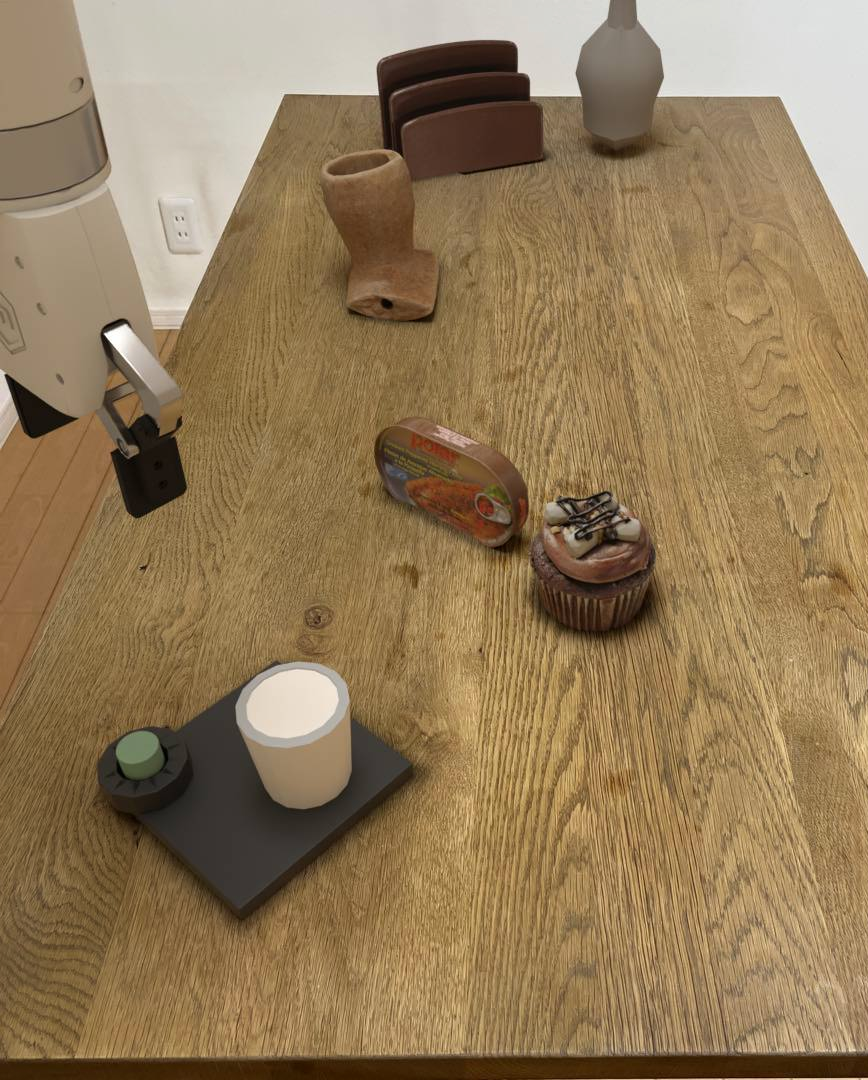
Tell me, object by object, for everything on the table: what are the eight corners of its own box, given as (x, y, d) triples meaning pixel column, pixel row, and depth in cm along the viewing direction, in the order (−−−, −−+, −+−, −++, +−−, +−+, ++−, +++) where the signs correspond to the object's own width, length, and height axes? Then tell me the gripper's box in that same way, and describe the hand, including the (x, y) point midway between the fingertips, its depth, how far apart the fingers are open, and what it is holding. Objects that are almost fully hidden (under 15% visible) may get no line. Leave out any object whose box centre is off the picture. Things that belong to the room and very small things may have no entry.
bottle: (638, 172, 148) (654, -78, 129) (562, 158, 152) (566, -88, 132) (668, 143, 156) (687, -98, 136) (594, 130, 160) (602, -106, 140)
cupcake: (678, 613, 85) (689, 512, 79) (573, 662, 81) (576, 561, 75) (607, 543, 91) (612, 445, 85) (506, 586, 87) (503, 486, 81)
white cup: (331, 830, 68) (316, 759, 64) (233, 800, 70) (212, 729, 66) (378, 746, 73) (368, 675, 69) (286, 720, 75) (270, 649, 70)
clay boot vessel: (342, 261, 129) (326, 133, 119) (444, 262, 129) (436, 134, 119) (322, 328, 118) (302, 192, 108) (434, 328, 118) (424, 193, 108)
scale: (94, 797, 72) (79, 763, 70) (273, 670, 81) (265, 637, 78) (233, 934, 65) (222, 902, 63) (414, 779, 73) (410, 746, 71)
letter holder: (383, 157, 152) (373, 50, 143) (517, 136, 158) (515, 31, 149) (405, 185, 145) (396, 74, 136) (544, 161, 151) (544, 54, 142)
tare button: (114, 765, 70) (107, 748, 69) (149, 741, 72) (143, 724, 71) (137, 788, 69) (131, 770, 68) (172, 762, 71) (166, 745, 69)
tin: (376, 494, 96) (366, 413, 91) (400, 476, 98) (392, 396, 93) (511, 564, 89) (510, 482, 84) (535, 544, 91) (535, 462, 86)
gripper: (-168, 112, 49) (-45, 428, 61) (38, 236, 41) (136, 575, 52) (-9, 73, 54) (79, 374, 65) (207, 177, 45) (264, 502, 56)
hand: (104, 463), depth 58 cm, fingers open, 9 cm apart
